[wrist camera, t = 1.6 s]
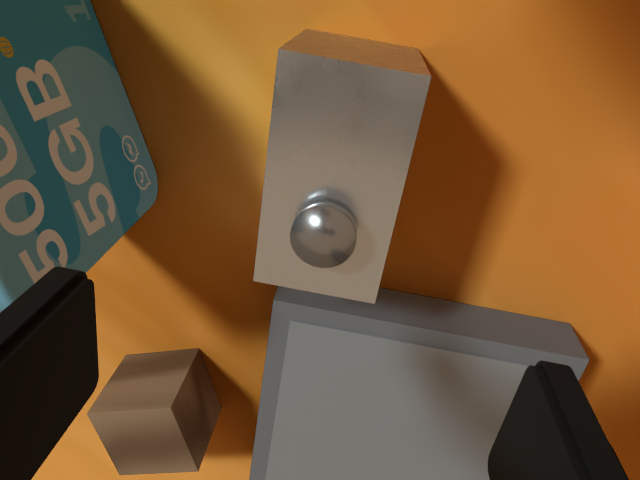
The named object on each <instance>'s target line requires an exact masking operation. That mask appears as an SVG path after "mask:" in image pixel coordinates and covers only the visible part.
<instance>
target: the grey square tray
mask: <svg viewBox="0 0 640 480" xmlns="http://www.w3.org/2000/svg"><path fill="white" fill-rule="evenodd" d="M541 360H543V361H548V362H553V363H558V364H564V365H568V366H570V367H571V368H572V370H573V372H574V374H575V376H576V378H577V380H578V381H579V379H580V377H581V376H582V374H583V372H584V370H585V368H586V366H587V364H588V362H589V358H588V356H587V354H586V352H585V350H584V349H583V347H582V345H581V343H580V341H579V339H578V337H577V336H576V334H575V332H574V330H573V328H572V326H571V324H569V323H564V322H559V321H553V320H548V319H543V318H538V317H532V316H527V315H522V314H516V313H511V312H506V311H500V310H495V309H490V308H484V307H479V306H474V305H468V304H463V303H458V302H453V301H447V300H442V299H437V298H431V297H426V296H421V295H415V294H410V293H405V292H399V291H394V290H389V289H384V288H379V289H378V293H377V297H376V301H375V304H372V303H367V302H362V301H356V300H351V299H346V298H340V297H335V296H330V295H324V294H319V293H314V292H309V291H303V290H298V289H293V288H287V287H282V286H278V288H277V291H276V294H275V297H274V300H273V307H272V314H271V322H270V329H269V337H268V344H267V351H266V359H265V366H264V374H263V381H262V389H261V396H260V404H259V411H258V418H257V426H256V433H255V441H254V448H253V456H252V463H251V471H250V478H249V480H490V479H489V474H488V457H489V453H490V451H491V448H492V446H493V444H494V441H495V439H496V437H497V435H498V432H499V430H500V428H501V425H502V423H503V421H504V419H505V416H506V414H507V412H508V409H509V407H510V405H511V402H512V400H513V398H514V396H515V393H516V391H517V389H518V386H519V384H520V382H521V380H522V377H523V375H524V373H525V370H526V369H527V367H528V366H530V365H532V366H535V365H536V363H537V362H539V361H541Z"/></svg>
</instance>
